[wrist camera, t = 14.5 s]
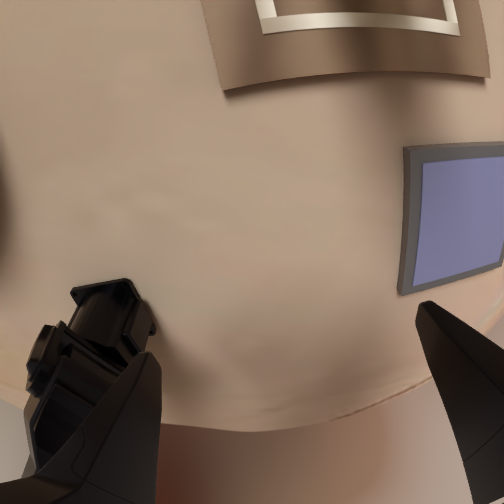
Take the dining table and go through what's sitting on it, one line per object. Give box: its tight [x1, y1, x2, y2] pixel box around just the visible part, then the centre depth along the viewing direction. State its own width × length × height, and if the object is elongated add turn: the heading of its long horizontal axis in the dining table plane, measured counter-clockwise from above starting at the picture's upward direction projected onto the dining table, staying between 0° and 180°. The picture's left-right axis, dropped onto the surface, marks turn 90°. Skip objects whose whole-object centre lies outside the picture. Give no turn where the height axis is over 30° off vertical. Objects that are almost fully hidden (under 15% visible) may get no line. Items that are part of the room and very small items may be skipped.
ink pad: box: [397, 142, 504, 296], centre depth 21 cm, size 13×13×1 cm
